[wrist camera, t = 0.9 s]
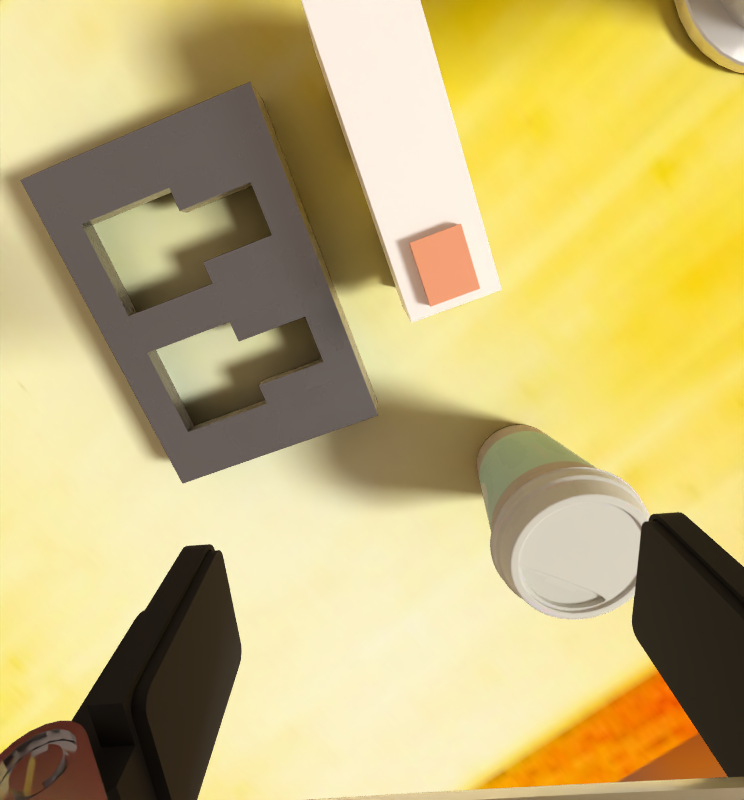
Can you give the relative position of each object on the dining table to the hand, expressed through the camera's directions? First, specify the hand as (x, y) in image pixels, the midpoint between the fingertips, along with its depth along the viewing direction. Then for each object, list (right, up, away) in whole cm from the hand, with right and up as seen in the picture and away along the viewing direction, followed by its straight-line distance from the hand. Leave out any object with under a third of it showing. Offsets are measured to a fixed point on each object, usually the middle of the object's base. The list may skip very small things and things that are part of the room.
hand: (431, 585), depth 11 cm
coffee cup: (+9, 0, +26) cm, 27 cm away
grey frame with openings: (-11, +11, +22) cm, 27 cm away
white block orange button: (0, +18, +20) cm, 27 cm away
